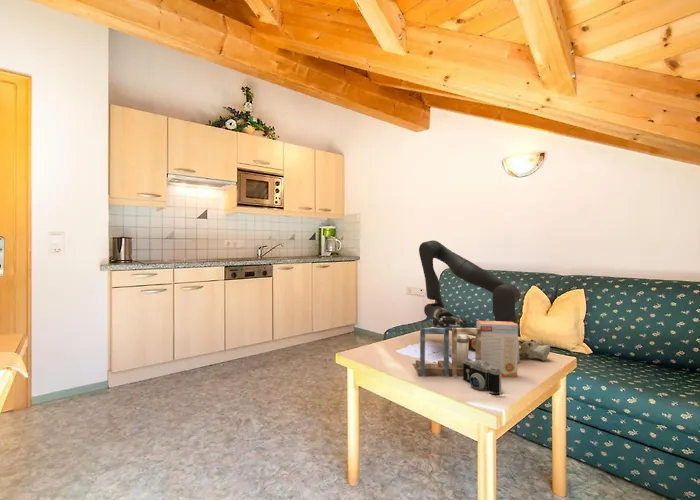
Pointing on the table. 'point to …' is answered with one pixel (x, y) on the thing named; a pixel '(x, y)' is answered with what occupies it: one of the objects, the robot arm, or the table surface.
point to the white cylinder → (462, 349)
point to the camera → (482, 376)
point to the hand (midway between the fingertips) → (453, 325)
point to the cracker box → (500, 345)
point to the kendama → (472, 343)
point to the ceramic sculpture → (534, 350)
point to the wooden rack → (445, 353)
